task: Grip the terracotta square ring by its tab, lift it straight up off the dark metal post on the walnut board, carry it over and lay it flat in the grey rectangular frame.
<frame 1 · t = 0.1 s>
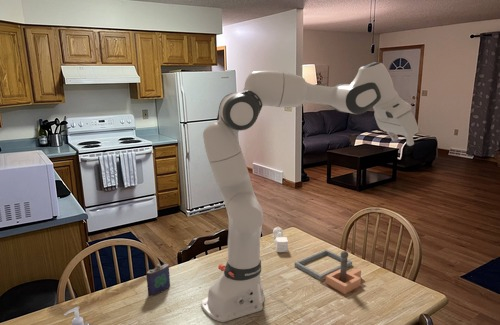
hand: (403, 142, 126), 54 cm above the table, tool tilted 30°, fingers open, 8 cm apart
ring: (342, 284, 136), point 1 cm above the table, touching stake
grey rectangular frame: (323, 268, 150), on the table
flask: (159, 291, 135), on the table
container set: (279, 243, 174), on the table
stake: (342, 287, 136), on the table
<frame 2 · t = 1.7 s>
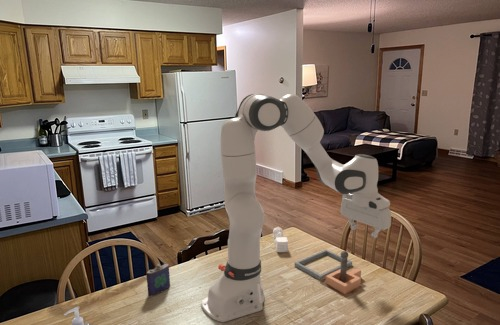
hand: (363, 233, 136), 19 cm above the table, tool pointing down, fingers open, 8 cm apart
nothing on the table moved.
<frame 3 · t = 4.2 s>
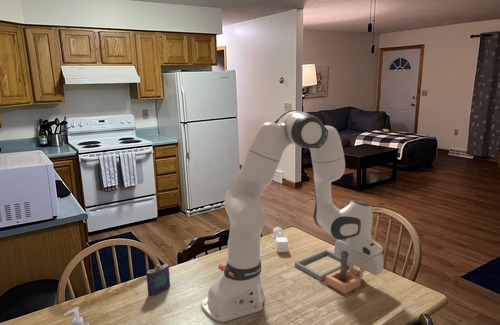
hand: (356, 275, 140), 2 cm above the table, tool pointing down, fingers closed on ring, 2 cm apart
ring: (342, 284, 136), point 1 cm above the table, touching gripper, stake
everything else where it was.
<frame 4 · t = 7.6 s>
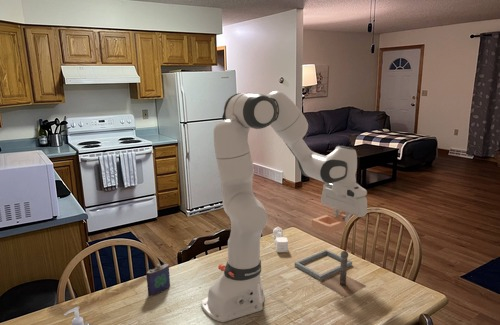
hand: (341, 220, 144), 21 cm above the table, tool pointing down, fingers closed on ring
ring: (328, 227, 140), point 20 cm above the table, touching gripper
everything else where it was.
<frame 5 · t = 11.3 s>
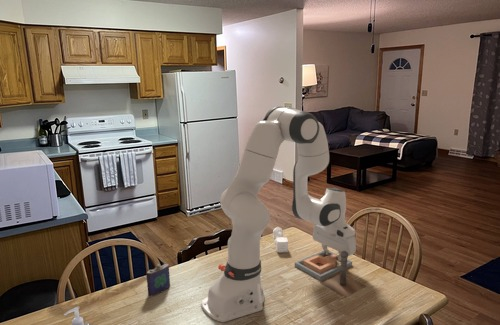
hand: (332, 257, 152), 3 cm above the table, tool pointing down, fingers open, 5 cm apart
ring: (319, 268, 148), point 1 cm above the table, touching grey rectangular frame
everything else where it was.
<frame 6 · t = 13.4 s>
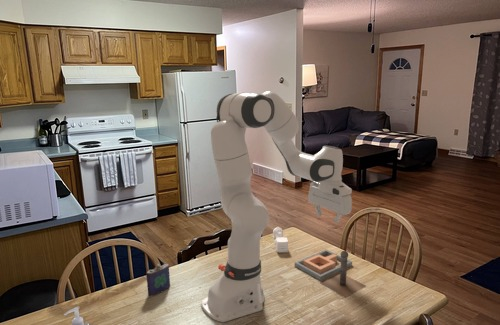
hand: (327, 218, 148), 20 cm above the table, tool pointing down, fingers open, 8 cm apart
nothing on the table moved.
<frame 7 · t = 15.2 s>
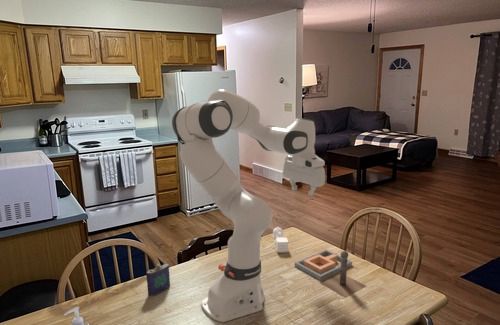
hand: (302, 192, 148), 31 cm above the table, tool pointing down, fingers open, 8 cm apart
nothing on the table moved.
at the end: ring inside the target area on the grey rectangular frame (0.7 cm from its centre), point 0.8 cm above the grey rectangular frame's base; ring tilted 0°; the gripper is holding nothing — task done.
